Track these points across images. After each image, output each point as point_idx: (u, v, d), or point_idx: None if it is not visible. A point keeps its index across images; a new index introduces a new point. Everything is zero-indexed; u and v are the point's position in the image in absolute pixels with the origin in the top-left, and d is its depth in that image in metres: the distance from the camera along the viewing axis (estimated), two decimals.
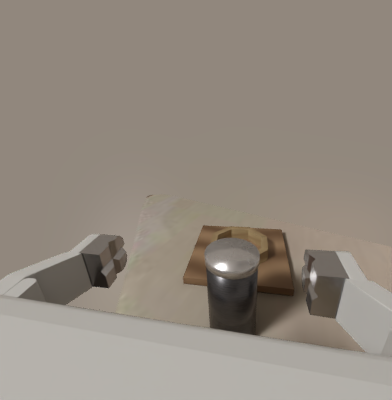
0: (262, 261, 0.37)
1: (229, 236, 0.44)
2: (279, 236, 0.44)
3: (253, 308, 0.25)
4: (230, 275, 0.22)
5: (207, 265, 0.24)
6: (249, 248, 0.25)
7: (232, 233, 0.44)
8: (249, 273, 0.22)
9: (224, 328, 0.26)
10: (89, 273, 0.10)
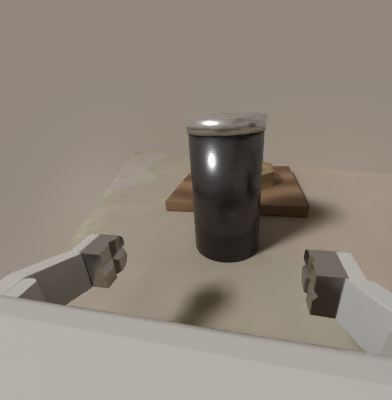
0: (266, 186, 0.30)
1: None
2: (286, 170, 0.36)
3: (256, 202, 0.18)
4: (222, 128, 0.14)
5: (189, 127, 0.16)
6: (252, 113, 0.17)
7: None
8: (251, 128, 0.15)
9: (214, 231, 0.18)
10: (89, 273, 0.10)
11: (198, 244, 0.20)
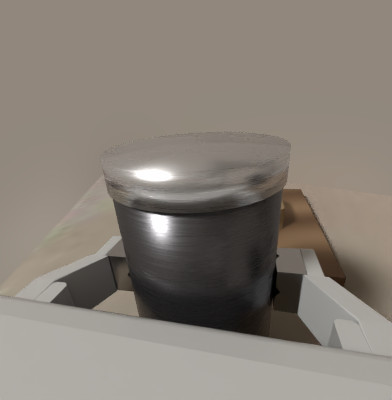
0: None
1: None
2: (299, 196, 0.27)
3: (264, 326, 0.08)
4: (173, 194, 0.05)
5: (104, 177, 0.07)
6: (254, 138, 0.08)
7: None
8: (255, 190, 0.05)
9: None
10: (115, 276, 0.10)
11: None
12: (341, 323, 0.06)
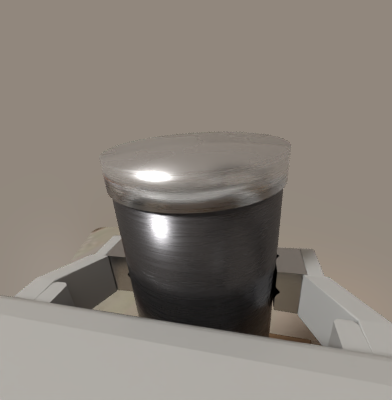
0: None
1: None
2: None
3: (264, 326, 0.08)
4: (173, 195, 0.05)
5: (104, 177, 0.07)
6: (254, 138, 0.08)
7: None
8: (255, 191, 0.05)
9: None
10: (115, 276, 0.10)
11: None
12: (341, 323, 0.06)
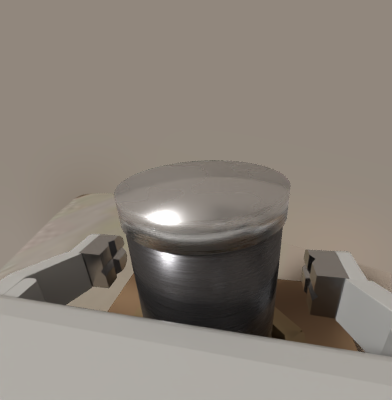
0: None
1: None
2: None
3: None
4: (184, 239, 0.06)
5: (118, 214, 0.07)
6: (256, 172, 0.08)
7: None
8: (258, 233, 0.06)
9: None
10: (89, 273, 0.10)
11: None
12: None
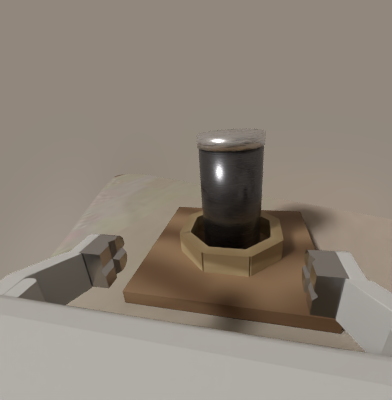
0: (273, 261, 0.20)
1: None
2: (298, 220, 0.27)
3: (258, 206, 0.20)
4: (229, 145, 0.17)
5: (200, 144, 0.19)
6: (252, 130, 0.20)
7: None
8: (253, 144, 0.18)
9: (222, 232, 0.21)
10: (89, 273, 0.10)
11: (207, 244, 0.23)
12: None
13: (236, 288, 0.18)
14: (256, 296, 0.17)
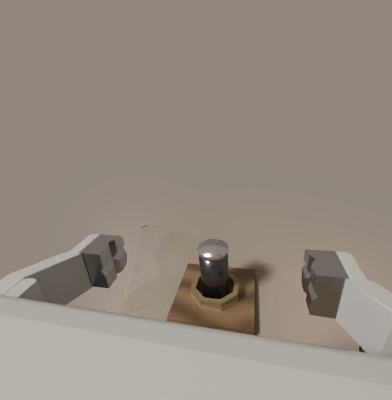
0: (233, 303, 0.45)
1: None
2: (252, 276, 0.52)
3: (226, 278, 0.45)
4: (212, 259, 0.42)
5: (199, 254, 0.43)
6: (223, 245, 0.45)
7: None
8: (222, 257, 0.42)
9: (210, 290, 0.45)
10: (89, 273, 0.10)
11: (203, 294, 0.47)
12: None
13: (215, 317, 0.43)
14: (223, 321, 0.42)
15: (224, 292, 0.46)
